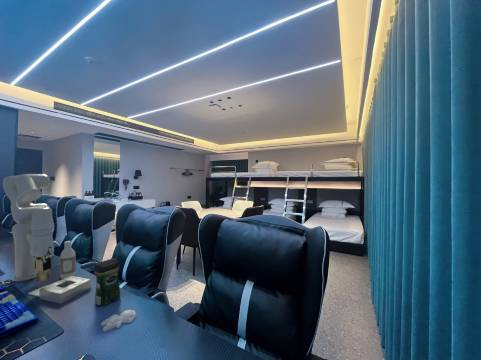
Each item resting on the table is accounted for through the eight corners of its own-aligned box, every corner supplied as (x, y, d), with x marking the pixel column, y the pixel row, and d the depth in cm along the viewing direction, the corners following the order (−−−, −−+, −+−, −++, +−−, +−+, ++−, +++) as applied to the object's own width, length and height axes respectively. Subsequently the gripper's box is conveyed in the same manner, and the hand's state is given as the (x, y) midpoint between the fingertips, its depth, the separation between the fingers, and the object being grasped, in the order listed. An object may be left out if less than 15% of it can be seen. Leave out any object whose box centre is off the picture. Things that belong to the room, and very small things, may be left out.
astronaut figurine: (100, 322, 83) (100, 314, 83) (134, 310, 91) (133, 303, 91) (102, 335, 77) (102, 327, 76) (138, 321, 84) (138, 313, 84)
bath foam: (59, 280, 117) (58, 244, 116) (61, 275, 122) (60, 241, 122) (75, 277, 120) (74, 242, 120) (76, 272, 126) (75, 239, 126)
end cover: (33, 280, 104) (33, 259, 104) (45, 275, 108) (45, 256, 108) (40, 281, 102) (40, 260, 102) (52, 276, 107) (52, 257, 107)
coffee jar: (114, 293, 104) (114, 255, 103) (122, 298, 99) (122, 258, 99) (91, 302, 96) (91, 262, 95) (99, 308, 91) (99, 266, 91)
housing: (39, 298, 99) (39, 289, 99) (71, 284, 112) (70, 275, 112) (60, 303, 95) (60, 293, 95) (90, 288, 108) (90, 279, 108)
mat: (28, 294, 103) (28, 293, 103) (47, 285, 111) (47, 285, 111) (39, 296, 101) (39, 295, 101) (57, 288, 108) (57, 287, 108)
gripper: (21, 233, 104) (22, 270, 104) (45, 235, 99) (46, 274, 99) (39, 229, 111) (40, 264, 111) (62, 231, 106) (63, 267, 106)
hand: (43, 268), depth 105 cm, fingers closed on end cover, 5 cm apart
